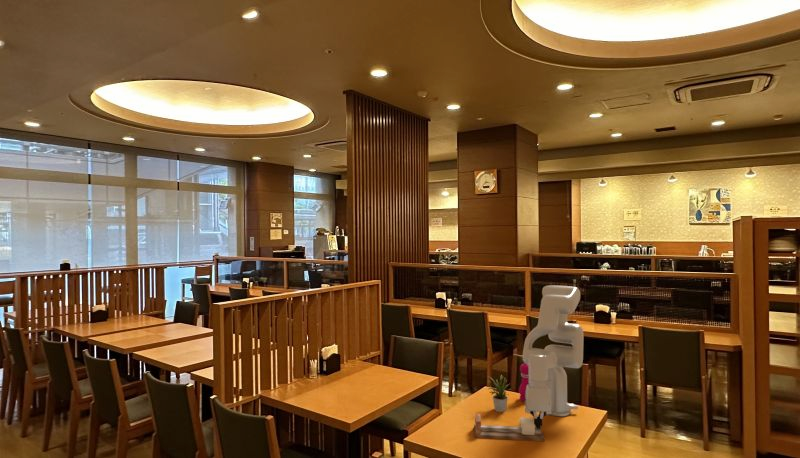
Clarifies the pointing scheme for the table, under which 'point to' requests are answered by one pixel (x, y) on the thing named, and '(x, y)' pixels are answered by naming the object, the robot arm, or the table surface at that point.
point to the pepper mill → (524, 381)
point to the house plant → (499, 395)
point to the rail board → (503, 432)
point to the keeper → (527, 426)
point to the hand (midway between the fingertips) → (538, 427)
